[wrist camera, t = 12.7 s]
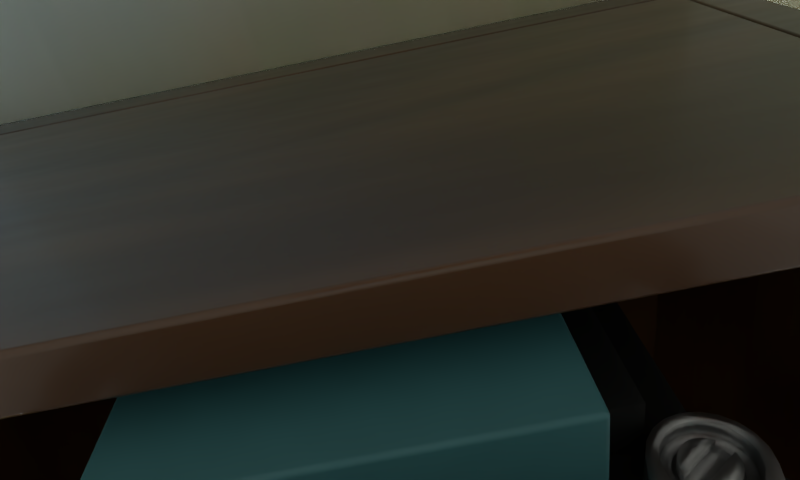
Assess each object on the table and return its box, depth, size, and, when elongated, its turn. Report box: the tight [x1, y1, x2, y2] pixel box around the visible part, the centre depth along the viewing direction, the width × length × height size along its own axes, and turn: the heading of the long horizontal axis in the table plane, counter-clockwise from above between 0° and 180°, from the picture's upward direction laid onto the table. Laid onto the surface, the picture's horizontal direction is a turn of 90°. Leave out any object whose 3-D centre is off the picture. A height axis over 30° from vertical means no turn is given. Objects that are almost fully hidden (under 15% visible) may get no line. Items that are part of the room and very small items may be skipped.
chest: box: [0, 0, 800, 480], centre depth 12 cm, size 12×16×8 cm
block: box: [80, 313, 610, 480], centre depth 9 cm, size 5×5×5 cm
